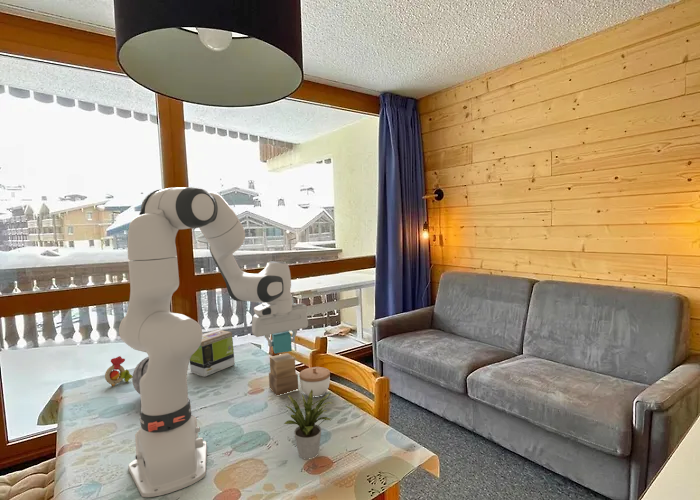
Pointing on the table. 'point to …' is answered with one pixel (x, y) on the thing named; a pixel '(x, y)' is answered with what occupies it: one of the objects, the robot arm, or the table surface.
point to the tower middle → (282, 366)
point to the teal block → (282, 342)
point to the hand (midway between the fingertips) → (281, 344)
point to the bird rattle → (117, 372)
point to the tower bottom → (283, 384)
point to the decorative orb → (139, 373)
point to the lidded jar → (315, 380)
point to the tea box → (213, 353)
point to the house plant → (308, 425)
